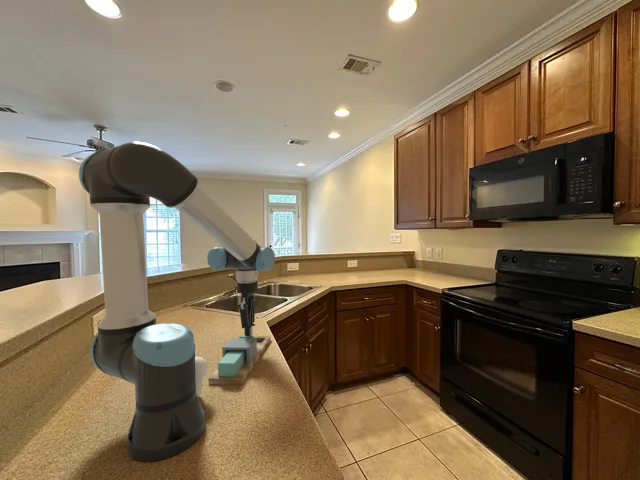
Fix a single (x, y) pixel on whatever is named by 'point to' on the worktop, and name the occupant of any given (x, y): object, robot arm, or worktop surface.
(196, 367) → the lightbulb
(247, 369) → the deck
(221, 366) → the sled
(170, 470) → the worktop surface
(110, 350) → the robot arm
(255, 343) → the tunnel
